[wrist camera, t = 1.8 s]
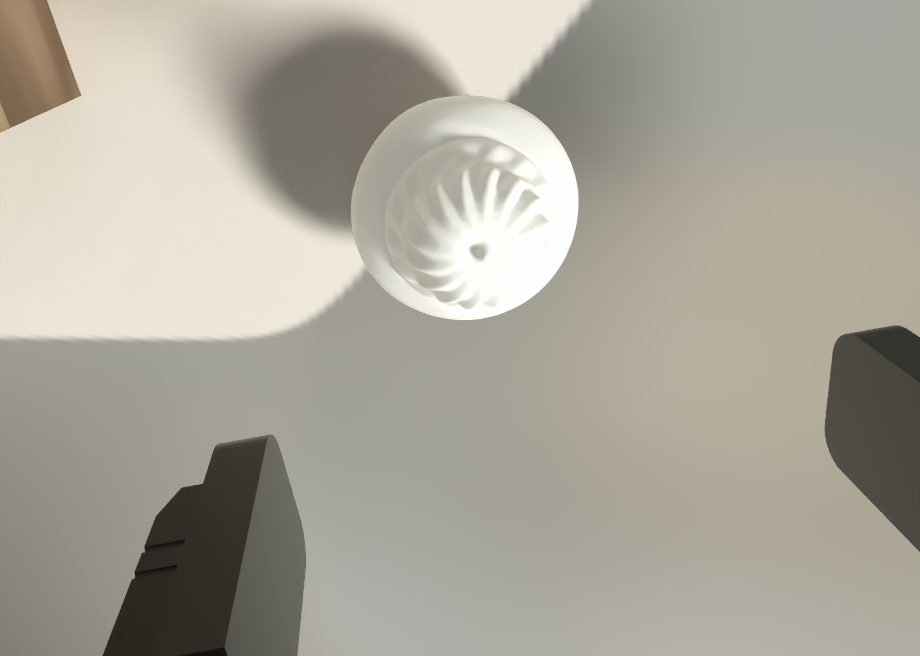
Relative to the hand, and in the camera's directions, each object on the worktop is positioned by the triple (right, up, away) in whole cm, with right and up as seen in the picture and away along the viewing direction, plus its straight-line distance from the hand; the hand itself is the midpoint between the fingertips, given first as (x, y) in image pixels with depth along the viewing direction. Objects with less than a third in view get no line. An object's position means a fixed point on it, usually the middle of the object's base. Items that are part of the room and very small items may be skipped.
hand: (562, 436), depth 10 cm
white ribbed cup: (-2, +6, +12) cm, 14 cm away
